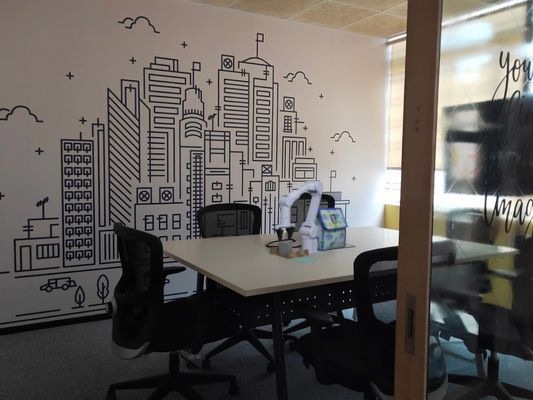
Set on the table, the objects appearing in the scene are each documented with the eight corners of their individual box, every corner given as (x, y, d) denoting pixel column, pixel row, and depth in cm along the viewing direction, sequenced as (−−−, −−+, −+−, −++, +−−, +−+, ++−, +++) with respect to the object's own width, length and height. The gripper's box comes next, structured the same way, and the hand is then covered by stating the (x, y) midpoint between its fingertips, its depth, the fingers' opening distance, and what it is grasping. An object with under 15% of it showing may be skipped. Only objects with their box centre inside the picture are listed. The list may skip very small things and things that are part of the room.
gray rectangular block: (283, 254, 262) (283, 241, 261) (292, 257, 256) (292, 243, 255) (278, 255, 260) (278, 241, 259) (287, 257, 253) (288, 244, 253)
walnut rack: (290, 251, 271) (290, 245, 270) (308, 256, 258) (308, 249, 258) (270, 254, 261) (270, 247, 260) (288, 259, 248) (288, 252, 248)
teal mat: (307, 257, 255) (307, 256, 255) (318, 260, 248) (318, 259, 248) (291, 260, 247) (291, 259, 247) (302, 263, 240) (302, 262, 240)
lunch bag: (325, 252, 272) (326, 210, 270) (306, 247, 285) (307, 207, 283) (348, 248, 286) (350, 208, 284) (329, 244, 299) (331, 206, 297)
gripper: (289, 215, 263) (288, 238, 264) (271, 217, 253) (271, 240, 255) (297, 216, 258) (297, 239, 259) (280, 218, 248) (279, 242, 249)
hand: (284, 240), depth 257 cm, fingers open, 7 cm apart
